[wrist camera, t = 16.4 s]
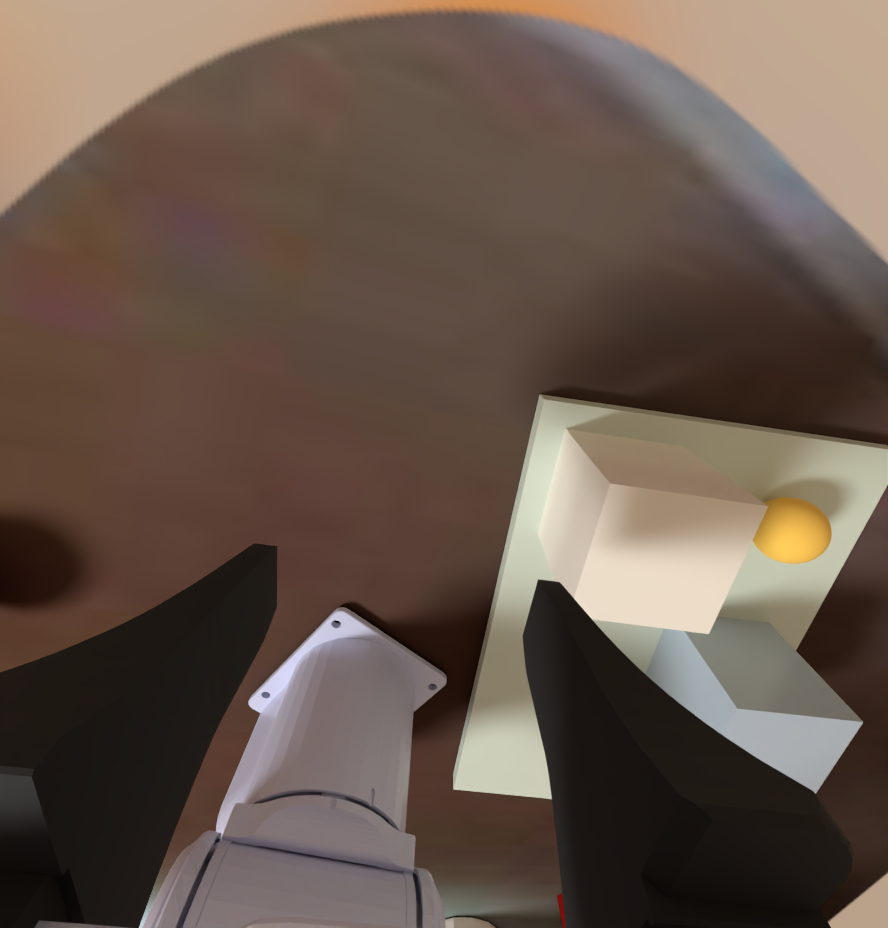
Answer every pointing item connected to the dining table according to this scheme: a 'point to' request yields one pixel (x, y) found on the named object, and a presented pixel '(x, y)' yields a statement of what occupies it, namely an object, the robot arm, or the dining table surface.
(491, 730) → the sage board
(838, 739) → the matte grey-blue cube
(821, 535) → the orange ball
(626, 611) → the tan cuboid
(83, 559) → the dining table surface
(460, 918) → the white cup
